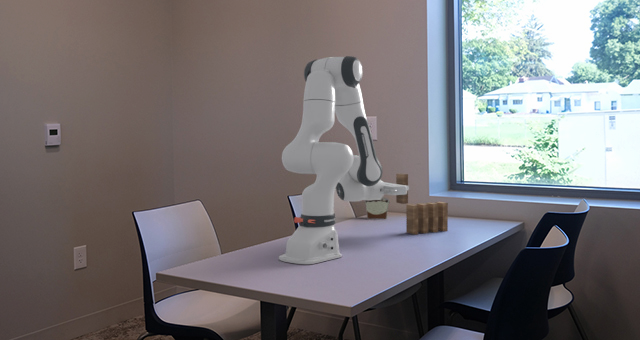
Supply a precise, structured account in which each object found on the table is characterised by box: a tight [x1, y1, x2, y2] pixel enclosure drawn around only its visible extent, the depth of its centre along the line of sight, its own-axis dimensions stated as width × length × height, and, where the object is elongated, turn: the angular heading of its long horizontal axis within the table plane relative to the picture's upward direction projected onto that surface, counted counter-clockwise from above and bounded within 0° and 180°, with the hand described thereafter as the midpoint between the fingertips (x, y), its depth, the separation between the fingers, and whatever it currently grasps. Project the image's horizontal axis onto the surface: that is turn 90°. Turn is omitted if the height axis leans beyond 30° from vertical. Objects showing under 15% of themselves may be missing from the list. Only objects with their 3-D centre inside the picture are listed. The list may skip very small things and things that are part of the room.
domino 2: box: [405, 203, 419, 236], centre depth 221 cm, size 2×5×12 cm, turn 24°
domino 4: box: [425, 202, 439, 233], centre depth 225 cm, size 2×5×12 cm, turn 24°
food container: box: [363, 197, 390, 220], centre depth 262 cm, size 12×6×10 cm, turn 84°
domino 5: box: [435, 201, 449, 232], centre depth 227 cm, size 2×5×12 cm, turn 24°
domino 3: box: [415, 202, 429, 234], centre depth 223 cm, size 2×5×12 cm, turn 24°
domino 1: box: [395, 173, 409, 205], centre depth 218 cm, size 2×5×12 cm, turn 24°
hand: (403, 187), depth 218 cm, fingers closed on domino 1, 5 cm apart
